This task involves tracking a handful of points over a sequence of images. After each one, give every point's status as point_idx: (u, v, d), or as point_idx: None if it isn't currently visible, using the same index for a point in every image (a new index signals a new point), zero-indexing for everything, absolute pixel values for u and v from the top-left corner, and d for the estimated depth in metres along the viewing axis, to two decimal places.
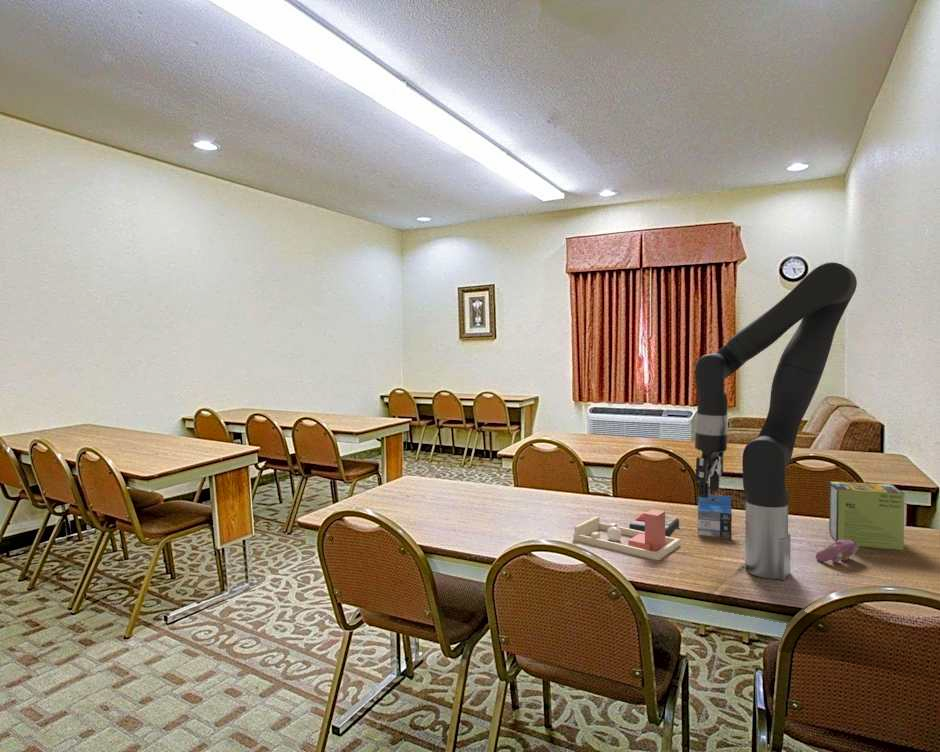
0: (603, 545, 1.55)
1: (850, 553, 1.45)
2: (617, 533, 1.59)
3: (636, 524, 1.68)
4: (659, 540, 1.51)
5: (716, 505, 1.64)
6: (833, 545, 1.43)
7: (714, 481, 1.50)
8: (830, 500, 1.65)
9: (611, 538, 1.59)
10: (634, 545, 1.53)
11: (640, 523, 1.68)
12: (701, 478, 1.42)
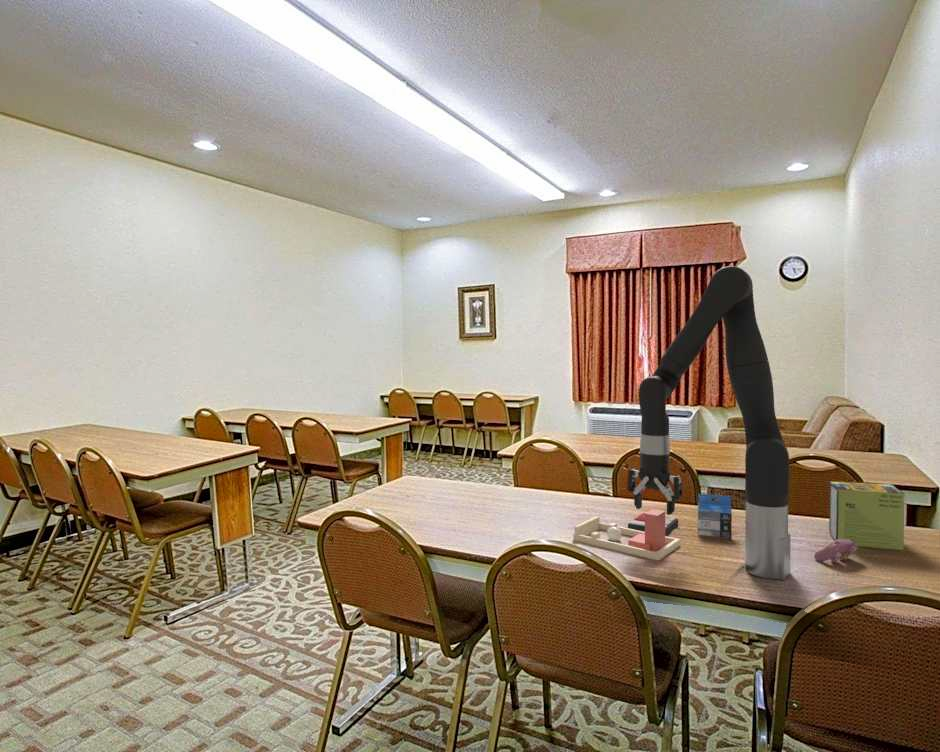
0: (603, 545, 1.55)
1: (849, 553, 1.45)
2: (617, 533, 1.59)
3: (634, 524, 1.68)
4: (659, 540, 1.51)
5: (716, 505, 1.64)
6: (832, 545, 1.43)
7: (640, 499, 1.55)
8: (830, 500, 1.65)
9: (611, 538, 1.59)
10: (634, 545, 1.53)
11: (638, 523, 1.69)
12: (680, 495, 1.48)
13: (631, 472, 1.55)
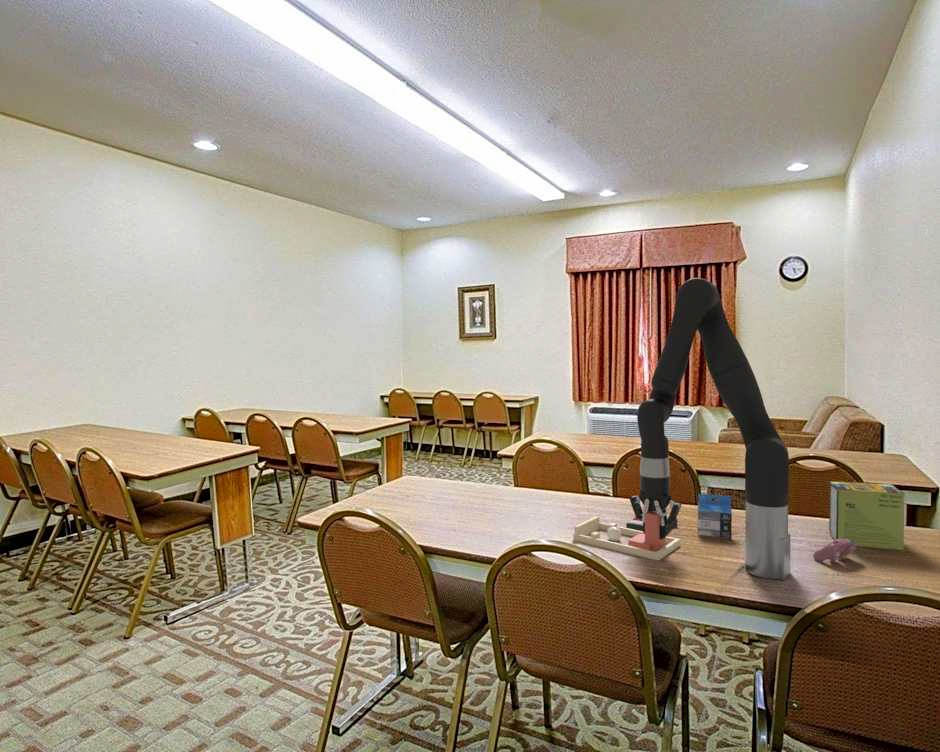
0: (603, 545, 1.55)
1: (847, 552, 1.45)
2: (617, 533, 1.59)
3: (633, 523, 1.69)
4: (659, 540, 1.51)
5: (716, 505, 1.64)
6: (830, 544, 1.44)
7: None
8: (830, 500, 1.65)
9: (611, 538, 1.59)
10: (634, 545, 1.53)
11: (637, 522, 1.69)
12: None
13: (632, 499, 1.55)
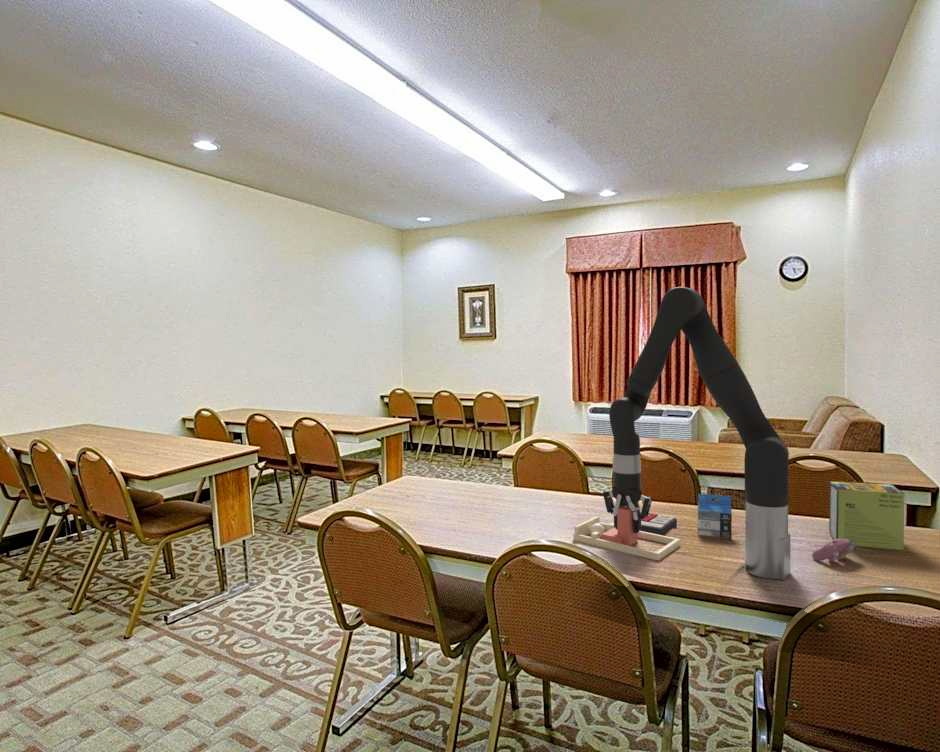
0: (603, 545, 1.55)
1: (846, 552, 1.46)
2: (590, 528, 1.65)
3: None
4: (631, 533, 1.56)
5: (716, 505, 1.64)
6: (829, 544, 1.44)
7: None
8: (830, 500, 1.65)
9: (595, 529, 1.63)
10: (607, 539, 1.58)
11: None
12: (646, 514, 1.54)
13: (605, 493, 1.61)
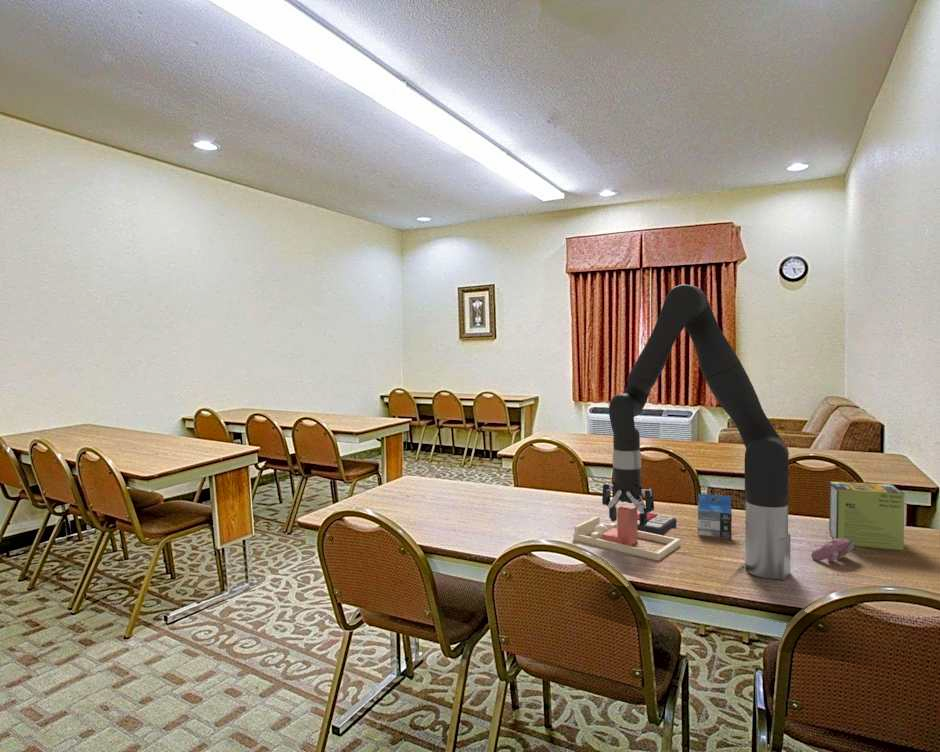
0: (603, 545, 1.55)
1: (845, 552, 1.46)
2: (595, 526, 1.63)
3: None
4: (631, 533, 1.56)
5: (716, 505, 1.64)
6: (829, 544, 1.44)
7: (614, 512, 1.60)
8: (830, 500, 1.65)
9: (600, 532, 1.62)
10: (607, 539, 1.58)
11: None
12: (652, 508, 1.53)
13: (605, 486, 1.61)
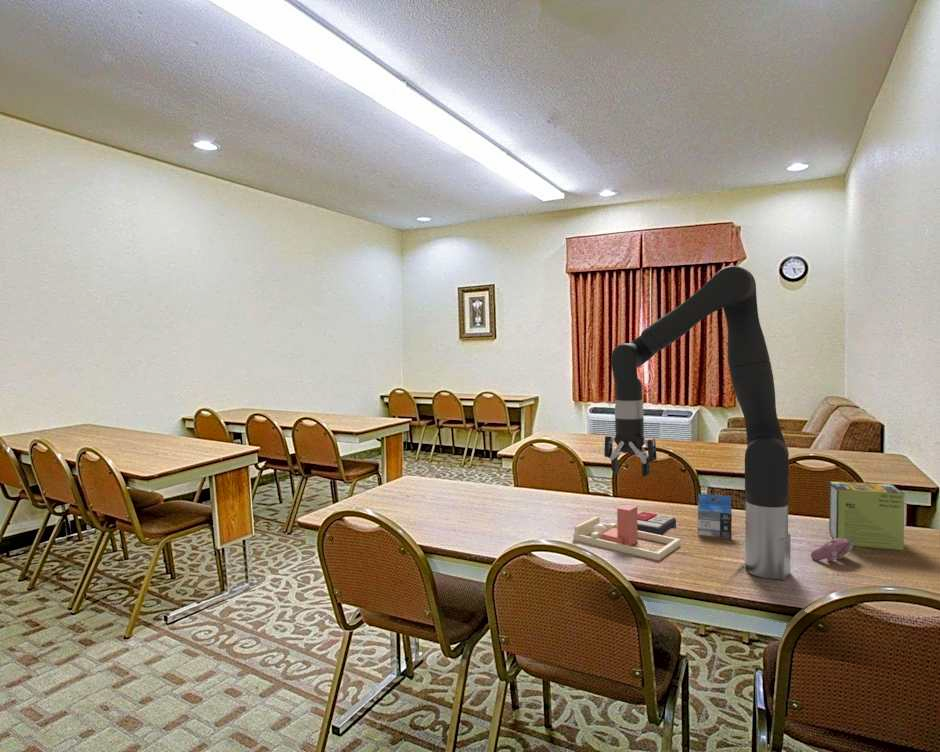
0: (603, 545, 1.55)
1: (845, 551, 1.46)
2: (594, 527, 1.64)
3: None
4: (631, 533, 1.56)
5: (716, 505, 1.64)
6: (828, 544, 1.44)
7: (617, 464, 1.60)
8: (830, 500, 1.65)
9: (598, 531, 1.62)
10: (607, 539, 1.58)
11: None
12: (654, 457, 1.53)
13: (607, 438, 1.60)
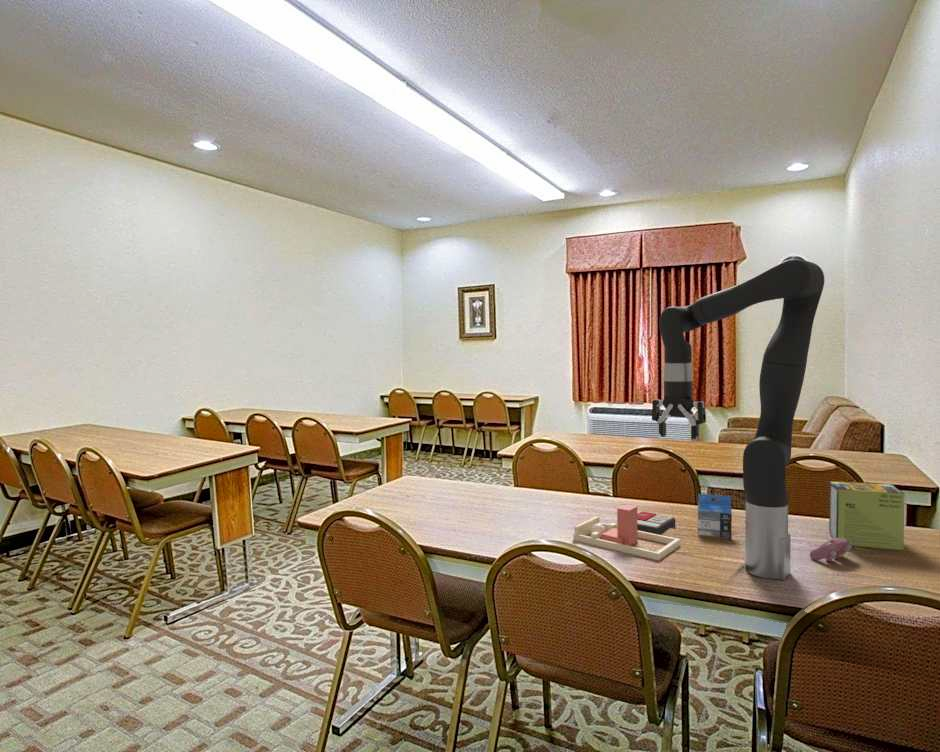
0: (603, 545, 1.55)
1: (843, 551, 1.46)
2: None
3: None
4: (631, 533, 1.56)
5: (716, 505, 1.64)
6: (827, 543, 1.44)
7: (664, 427, 1.61)
8: (830, 500, 1.65)
9: (596, 530, 1.62)
10: (607, 539, 1.58)
11: None
12: (704, 420, 1.54)
13: (655, 402, 1.61)
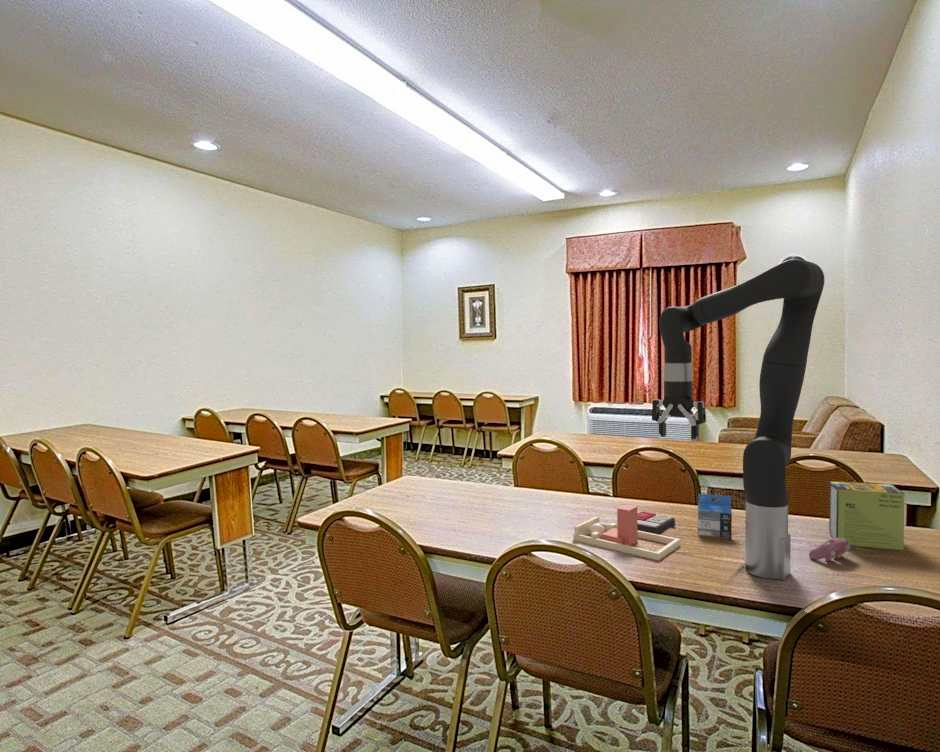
0: (603, 545, 1.55)
1: (843, 551, 1.46)
2: (590, 528, 1.65)
3: None
4: (631, 533, 1.56)
5: (716, 505, 1.64)
6: (826, 543, 1.44)
7: (664, 427, 1.61)
8: (830, 500, 1.65)
9: (595, 529, 1.63)
10: (607, 539, 1.58)
11: None
12: (704, 420, 1.54)
13: (655, 402, 1.61)
